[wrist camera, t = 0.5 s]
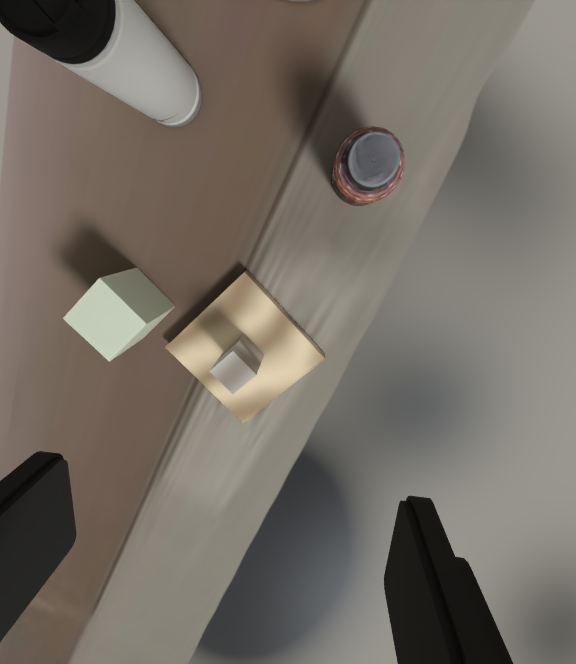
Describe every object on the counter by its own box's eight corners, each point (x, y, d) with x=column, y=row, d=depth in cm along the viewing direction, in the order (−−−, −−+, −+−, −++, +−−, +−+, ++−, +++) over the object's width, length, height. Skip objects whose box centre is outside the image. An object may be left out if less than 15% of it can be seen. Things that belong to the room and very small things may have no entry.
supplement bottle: (398, 181, 38) (429, 167, 27) (352, 217, 40) (364, 218, 29) (366, 132, 37) (386, 98, 26) (319, 171, 39) (320, 153, 28)
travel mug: (177, 144, 39) (43, 74, 20) (132, 93, 38) (-58, -33, 19) (217, 98, 37) (111, -26, 18) (170, 43, 36) (6, -150, 17)
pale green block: (104, 301, 45) (62, 318, 38) (136, 267, 43) (99, 277, 36) (142, 338, 46) (109, 361, 39) (175, 306, 44) (146, 324, 37)
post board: (169, 343, 46) (142, 366, 39) (246, 270, 42) (232, 280, 35) (245, 417, 48) (233, 451, 41) (324, 354, 45) (325, 380, 38)
